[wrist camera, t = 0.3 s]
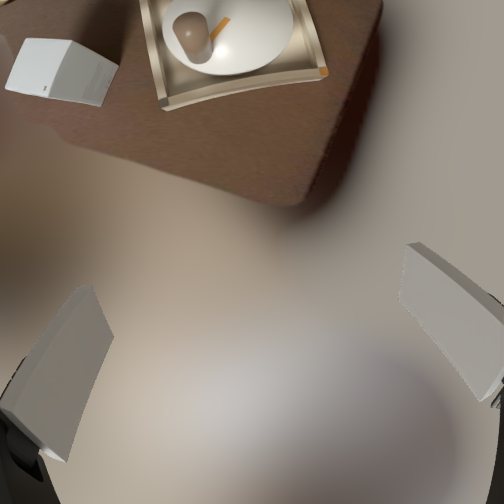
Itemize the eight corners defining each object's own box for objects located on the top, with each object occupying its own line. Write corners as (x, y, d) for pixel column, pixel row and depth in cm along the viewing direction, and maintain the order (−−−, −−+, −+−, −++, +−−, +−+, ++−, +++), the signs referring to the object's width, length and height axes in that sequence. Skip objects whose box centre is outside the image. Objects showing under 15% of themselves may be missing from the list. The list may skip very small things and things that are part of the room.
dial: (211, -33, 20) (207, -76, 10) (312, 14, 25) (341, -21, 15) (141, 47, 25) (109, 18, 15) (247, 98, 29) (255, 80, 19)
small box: (120, 65, 27) (73, 38, 15) (101, 107, 29) (47, 99, 17) (77, 57, 25) (25, 36, 13) (60, 96, 27) (3, 90, 15)
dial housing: (143, -5, 22) (136, -15, 19) (283, -31, 22) (288, -43, 18) (167, 111, 30) (160, 108, 27) (319, 80, 30) (328, 74, 26)
